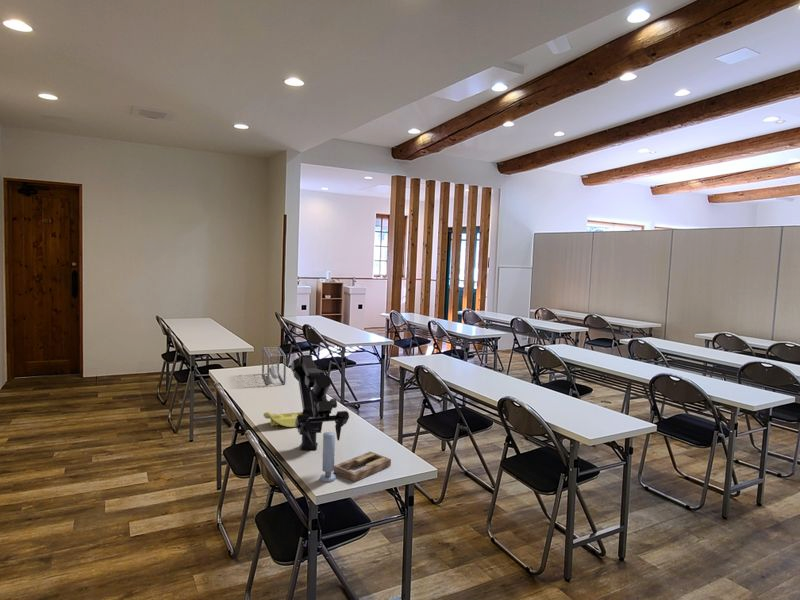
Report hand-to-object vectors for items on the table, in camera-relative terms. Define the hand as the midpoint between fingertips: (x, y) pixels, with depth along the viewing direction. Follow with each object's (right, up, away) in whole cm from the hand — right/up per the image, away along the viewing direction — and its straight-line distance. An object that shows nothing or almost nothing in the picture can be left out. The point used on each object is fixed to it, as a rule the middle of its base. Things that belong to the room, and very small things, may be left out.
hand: (325, 441), depth 179 cm
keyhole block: (+13, -12, +6) cm, 18 cm away
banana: (-25, -7, +52) cm, 58 cm away
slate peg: (+1, -12, -3) cm, 12 cm away
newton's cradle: (-51, +1, +131) cm, 140 cm away
